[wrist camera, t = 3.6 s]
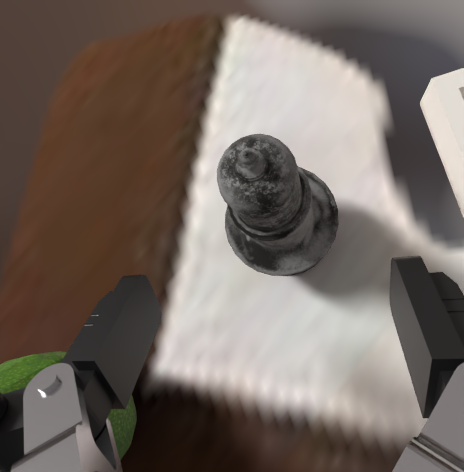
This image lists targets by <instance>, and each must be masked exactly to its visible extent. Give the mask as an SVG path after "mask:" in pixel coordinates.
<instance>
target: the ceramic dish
mask: <svg viewBox="0 0 464 472" xmlns="http://www.w3.org/2000/svg"><path fill="white" fill-rule="evenodd" d="M420 106H421V108H422V111H423V113H424V116H425V119H426V121H427V124H428V126H429V129H430V132H431V134H432V137H433V139H434V142H435V145H436V147H437V150H438V153H439V155H440V158H441V160H442V163H443V166H444V168H445V171H446V173H447V176H448V179H449V181H450V184H451V187H452V189H453V192H454V194H455V197H456V199H457V202H458V205H459V207H460V210H461V212H462V215H463V218H464V68H462V69H459V70H456V71H453V72H450V73H447V74H444V75H441V76H438V77H434V78H432V79H431V81H430V83H429V85H428V87H427V89H426V91H425V94H424V96H423V98H422V100H421V102H420Z"/></svg>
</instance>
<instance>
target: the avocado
mask: <svg viewBox="0 0 464 472" xmlns="http://www.w3.org/2000/svg"><path fill="white" fill-rule="evenodd" d="M66 353H67V352H61V351H57V352H50V353H42V354H34V355H29V356H25V357H21V358H18V359H14V360H10V361H7V362H5V363H3V364H1V365H0V392H1V393H2V394H5V393H8V392H11V391H15V390H18V389H21V388H25V387H27V385H28V384H29V382H30V381H31V380H32V379H33V378H34V377H35V376H36V375H37V374H38V373H39V372H41V371H42V370H43V369H45V368H47V367H49V366H51V365H54V364H58V363H61V361H62V360H63V358H64V356H65V355H66ZM108 419H109V421H110V423H111V427H112V431H113V435H114V439H115V443H116V447H117V451H118V455H119V458H120V460H121V459H122V457H123V456H124V454H125V453H126V451H127V450H128V448H129V447H130V445H131V442H132V438H133V434H134V430H135V426H136V422H137V415H136V408H135V405H134V401H133V397H132V394H131V397H130V399H129V402H128V404H127V407H126V409H111V411H110V413H109V415H108Z"/></svg>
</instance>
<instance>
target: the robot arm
mask: <svg viewBox="0 0 464 472" xmlns="http://www.w3.org/2000/svg"><path fill="white" fill-rule="evenodd" d="M390 306H391V312H392V316H393V320H394V323H395V326H396V330H397V333H398V336H399V340H400V343H401V346H402V350H403V353H404V356H405V360H406V363H407V366H408V370H409V373H410V376H411V380H412V383H413V386H414V390H415V393H416V396H417V400H418V403H419V406H420V410H421V413H422V416H423V418H429V419H428V420H427V422H426V424H425V426H424V428H423V429H422V431H421V433H420V434H419V436H418V437H417V438H416V437H414V438H412V439H411V441H410V442H409V443H408V445H407V446H406V448H405V450H404V451H403V453H402V455H401V457H400V459H399V460H398V462H397V464H396V466H395V468H394V469H393V471H392V472H464V295H463V293H462V292H461V290H460V288H459V286H458V284H457V283H455V282H454V281H453V280H452V279H450V278H449V277H448V276H447V275H445V274H444V273H443V272H436V273H429V272H428V270H427V268H426V266H425V264H424V262H423V260H422V258H421V257H420V256H411V257H397V258H392V260H391V277H390ZM160 321H161V308H160V304H159V302H158V300H157V297H156V295H155V293H154V291H153V288H152V286H151V284H150V281H149V279H148V277H147V276H146V275H131V276H123V277H122V278H121V279H120V281H119V282H118V284H117V286H116V287H115V289H114V291H110V292H109V293H108V294H107V295H106V296H105V297H103V298H102V299H101V300H100V301H99V302H98V304H97V305H96V307H95V308H94V310H93V312H92V313H91V316H89V318H88V320H87V321H86V323H85V326H83V328H82V329H81V331H80V332H79V334H78V336H77V337H76V339H75V340H74V342H73V344H72V345H71V347H70V348H69V350H68V352H67V353H66V355H65V356H64V358H63V360H62V361H61V363H58V364H54V365H51V366H49V367H47V368H45V369H43V370H42V371H41V372H39V373H38V374H37V375H36V376H35V377H34V378H33V379H32V380H31V381H30V382H29V384H28V385H27V387H25V388H21V389H18V390H15V391H11V392H8V393H5V394H2V393H1V392H0V472H123V470H122V466H121V462H120V458H119V455H118V451H117V447H116V443H115V439H114V435H113V431H112V427H111V423H110V421H109V419H108V415H109V413H110V411H111V409H126V407H127V404H128V402H129V399H130V397H131V394H132V392H133V389H134V387H135V384H136V382H137V379H138V377H139V374H140V372H141V369H142V367H143V364H144V362H145V360H146V357H147V355H148V352H149V350H150V347H151V345H152V342H153V340H154V337H155V335H156V332H157V330H158V327H159V325H160Z"/></svg>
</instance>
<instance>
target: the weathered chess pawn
mask: <svg viewBox="0 0 464 472" xmlns="http://www.w3.org/2000/svg"><path fill="white" fill-rule="evenodd" d="M217 182H218V186H219V190H220V193H221V195H222V197H223V199H224V201H225V202H226V203H227V206H228V207H227V210H226V214H225V229H226V234H227V238H228V242H229V243H230V245H231V247H232V249H233V251H234V253H235V254H236V255H237V256H238V257H239V258H240V259H241V260H242V261H243V262H244V263H245V264H246V265H248V266H249V267H251V268H253V269H254V270H256V271H258V272H261V273H265V274H269V275H272V276H288V275H295V274H298V273H302V272H305V271H307V270H308V269H310V268H312V267H314V266H315V265H316V264H317V263H318V262H319V261H320V260H321V259H322V258H323V256H324V255H325V254H326V253H327V252H328V250H329V249H330V247H331V245H332V243H333V242H334V240H335V236H336V232H337V228H338V208H337V205H336V202H335V199H334V196H333V194H332V193H331V191H330V190H329V188H328V187H327V185H326V184H325V183H324V182H323V181H322V180H321V179H320V178H318V177H317V176H316V175H315V174H313V173H311V172H309V171H307V170H305V169H303V168H300V167H298V166H297V164H296V161H295V158H294V156H293V154H292V153H291V151H290V150H289V148H288V147H287V146H286V145H284V144H283V143H282V142H281V141H280V140H278V139H276V138H274V137H272V136H270V135H264V134H254V135H248V136H246V137H243V138H240V139H239V140H237V141H236V142H234V143H233V144H231V146H230V147H229V148H228V149H227V150H226V151H225V152H224V154H223V156H222V158H221V159H220V162H219V166H218V169H217Z"/></svg>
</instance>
